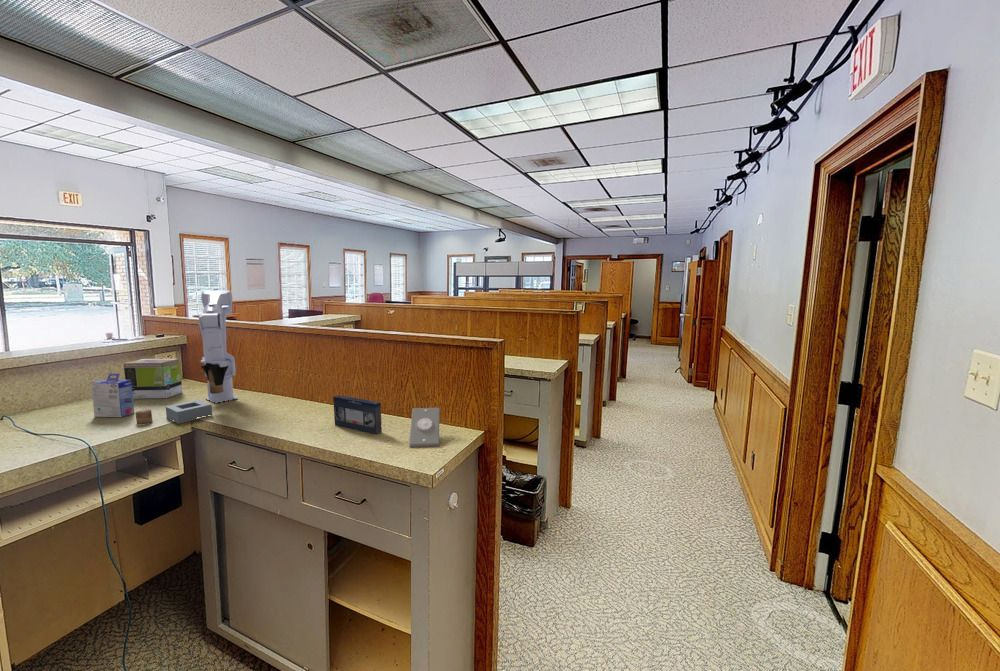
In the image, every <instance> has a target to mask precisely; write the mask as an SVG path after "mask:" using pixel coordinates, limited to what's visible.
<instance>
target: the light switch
mask: <svg viewBox="0 0 1000 671" xmlns="http://www.w3.org/2000/svg"><path fill="white" fill-rule="evenodd" d="M411 410H412V411H411V421H410V434H409V444H408V445H409V446H408V447H409V448H419V447H420V448H421V447H422V448H423V447H439V446H440V415H441V414H440V412H441V410H440V407H414V408H412V409H411Z"/></svg>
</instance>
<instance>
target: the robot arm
mask: <svg viewBox="0 0 1000 671" xmlns="http://www.w3.org/2000/svg"><path fill="white" fill-rule="evenodd" d="M232 294H233V293H232V291H231V290H202V292H201V303H202V306H203V311H202V314H201V315H199V316H198V326H199V329H200V336H202V349H203V356H202V357H201V360H200V363H203V364H200V366H201V367H200V368H201V369H202V370H203V371H204V376H205V377H206V378H207V382H206V383H207V384H206V387H207V396H208V397H206V398H205V400H206V399H207V400H206V401H209V400H210V401H209V402H211V403H214V402H215V404H219V403H218V402H220V403H224V402H223V401H225V402H229V401H233V399H234V400H238V399H239V397H238V396H234V387H233V386H234V385H233V384H234V383H233V376H235V375H236V372H237V371H236V370H237V369H236V362H235V360H236V359H235V357H234V355H233V354H230V353H228V352H227V326H226V325H227V322H226V321H227V317H228V315H229V314H231V313H232V312H233V295H232ZM209 370H210V371H211V372H212V375H213V378H214V383H215V385H216V386H218V385H223V392H221V393H216V394H211V393H210V385H209V374H208V371H209ZM228 400H229V401H228Z"/></svg>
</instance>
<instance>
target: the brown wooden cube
mask: <svg viewBox="0 0 1000 671" xmlns="http://www.w3.org/2000/svg"><path fill="white" fill-rule="evenodd" d="M152 413H153V412H152V409H141V410H137V411H134V414H135V419H136V420H135V421H136V425H137V424H138V426H140V425H139V424H145V425H149V424H152V423H153V422H152V421H153V415H152ZM151 422H152V423H151ZM148 423H149V424H148Z"/></svg>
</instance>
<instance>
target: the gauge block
mask: <svg viewBox="0 0 1000 671" xmlns="http://www.w3.org/2000/svg"><path fill="white" fill-rule="evenodd" d="M212 407H213V406H212V404H211V403H208V402H206V401H203V400H200V399H197V400H191V401H187V402H182V403H176V404H172V405H167V406H165V414H166V415H165V416H166V418H167V419H168V418H169V419H168V420H170V419H171V420H170V421H172V420H174V421H175V422H174V421H173V422H174V423H176V424H182V423H186V422H191V421H192V422H193V421H196V420H197V419H196V418H197V417H202V416H208V415H212V416H213V410H212V409H213V408H212ZM195 419H196V420H195Z"/></svg>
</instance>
